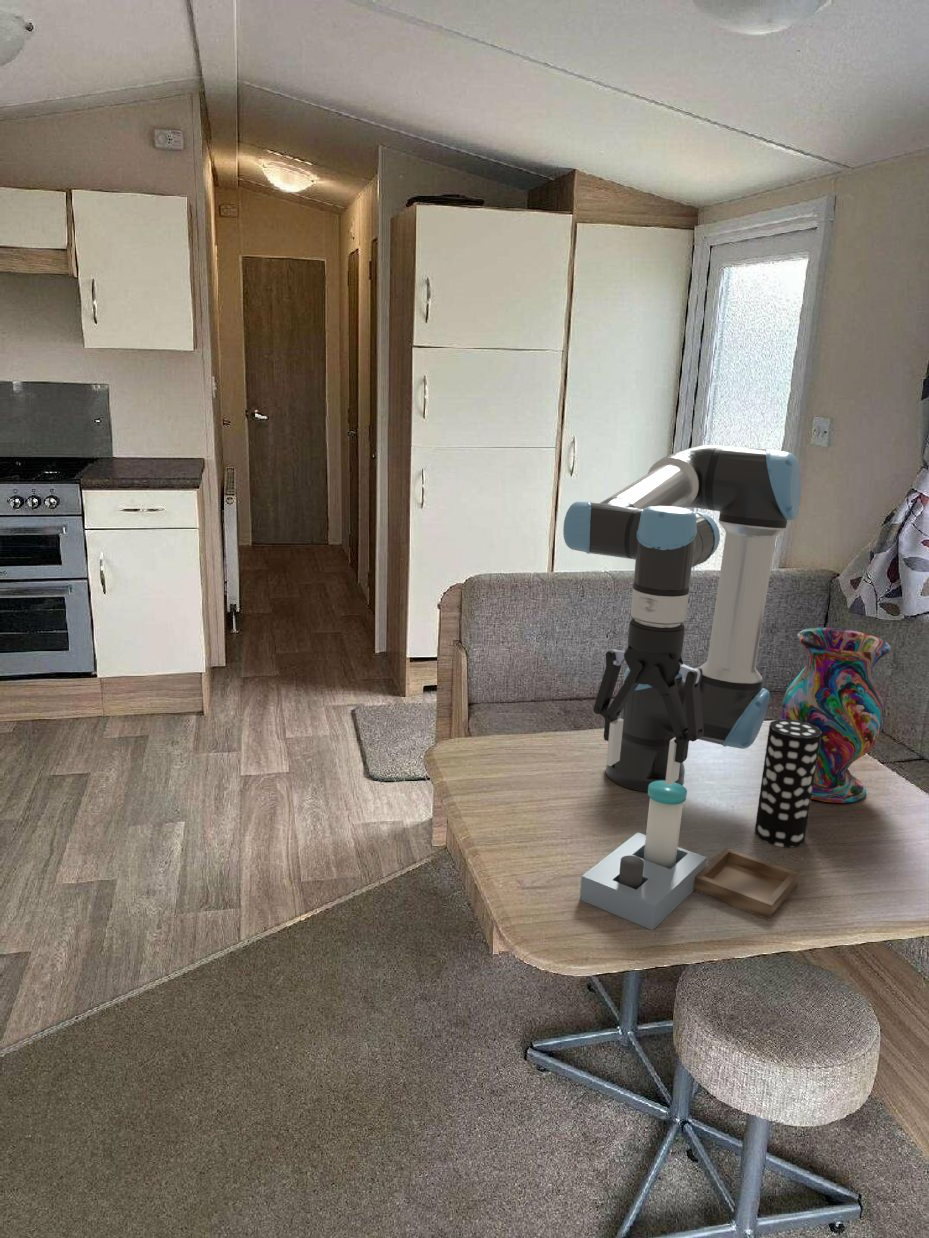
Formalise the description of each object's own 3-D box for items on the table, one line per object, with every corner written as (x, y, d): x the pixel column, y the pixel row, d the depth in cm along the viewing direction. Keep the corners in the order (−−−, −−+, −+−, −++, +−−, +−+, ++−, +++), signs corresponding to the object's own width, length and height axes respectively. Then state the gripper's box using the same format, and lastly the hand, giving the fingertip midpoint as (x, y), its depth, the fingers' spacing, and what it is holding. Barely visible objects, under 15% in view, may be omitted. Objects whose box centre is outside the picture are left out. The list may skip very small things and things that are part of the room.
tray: (693, 890, 145) (695, 876, 145) (723, 860, 155) (725, 847, 154) (769, 919, 138) (771, 905, 138) (796, 886, 148) (798, 873, 147)
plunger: (613, 888, 140) (616, 861, 139) (624, 879, 143) (627, 853, 141) (634, 897, 138) (637, 869, 137) (645, 887, 141) (648, 860, 139)
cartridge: (632, 877, 148) (642, 789, 144) (649, 863, 153) (658, 777, 149) (666, 890, 145) (677, 800, 141) (682, 875, 149) (693, 788, 145)
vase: (823, 814, 173) (848, 658, 165) (751, 774, 188) (771, 630, 180) (891, 797, 181) (918, 648, 173) (817, 760, 197) (839, 622, 189)
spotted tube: (804, 829, 166) (821, 724, 161) (804, 851, 159) (822, 741, 154) (755, 820, 169) (770, 716, 164) (753, 841, 161) (768, 732, 156)
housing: (579, 899, 141) (581, 875, 140) (635, 854, 155) (637, 832, 154) (652, 930, 134) (655, 905, 133) (703, 879, 148) (706, 857, 147)
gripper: (576, 610, 133) (564, 758, 139) (721, 642, 120) (701, 803, 126) (602, 601, 138) (589, 743, 144) (743, 630, 126) (723, 785, 132)
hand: (641, 771), depth 135 cm, fingers open, 9 cm apart
